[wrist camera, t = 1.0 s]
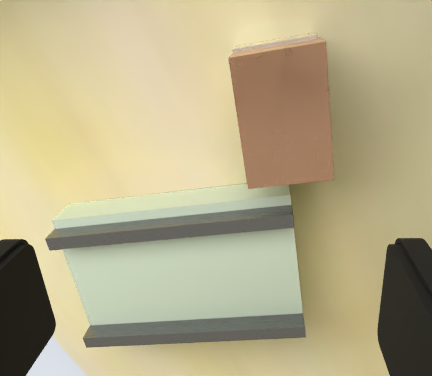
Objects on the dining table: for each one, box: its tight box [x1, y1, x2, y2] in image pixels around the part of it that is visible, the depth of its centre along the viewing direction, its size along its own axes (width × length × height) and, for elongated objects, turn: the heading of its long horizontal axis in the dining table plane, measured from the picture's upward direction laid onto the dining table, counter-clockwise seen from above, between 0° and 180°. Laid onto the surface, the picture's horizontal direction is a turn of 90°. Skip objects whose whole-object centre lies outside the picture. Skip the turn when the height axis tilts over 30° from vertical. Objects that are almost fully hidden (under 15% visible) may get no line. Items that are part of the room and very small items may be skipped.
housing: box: [229, 33, 334, 189], centre depth 25 cm, size 5×8×6 cm, turn 10°
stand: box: [45, 183, 306, 348], centre depth 31 cm, size 18×12×4 cm, turn 100°
